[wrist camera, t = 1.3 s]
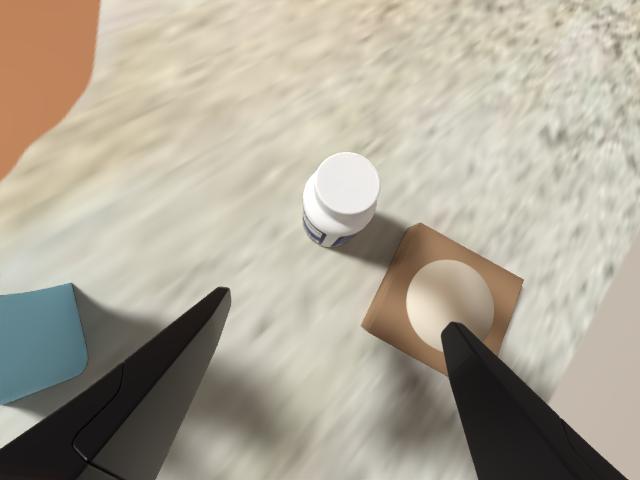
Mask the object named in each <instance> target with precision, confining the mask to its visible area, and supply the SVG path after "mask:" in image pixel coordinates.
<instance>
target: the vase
mask: <svg viewBox="0 0 640 480" xmlns="http://www.w3.org/2000/svg"><path fill="white" fill-rule="evenodd" d="M87 362H88V355H87V349H86V344H85V339H84V335H83V331H82V326H81V322H80V318H79V313H78V309H77V305H76V300H75V296H74V292H73V288H72V283H68V284H64V285H60V286H56V287H51V288H47V289H42V290H37V291H31V292H25V293H18V294H9V295H0V405H3V404H6V403H9V402H12V401H15V400H17V399H20V398H23V397H25V396H28V395H30V394H33V393H35V392H38V391H41V390H43V389H46V388H48V387H51V386H53V385H56V384H59V383H61V382H64V381H66V380H69V379H71V378H74V377H76V376H78V375H80V374H81V373H82V372H83V371H84V369H85V367H86V365H87Z"/></svg>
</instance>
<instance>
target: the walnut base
mask: <svg viewBox="0 0 640 480" xmlns="http://www.w3.org/2000/svg"><path fill="white" fill-rule="evenodd" d="M523 281H524V280H523V279H522V278H520V277H518V276H516V275H514V274H513V273H511V272H509V271H507V270H505V269H503V268H502V267H500V266H498V265H496V264H494V263H493V262H491V261H489V260H487V259H485V258H484V257H482V256H480V255H478V254H476V253H475V252H473V251H471V250H469V249H467V248H465V247H464V246H462V245H460V244H458V243H456V242H455V241H453V240H451V239H449V238H447V237H446V236H444V235H442V234H440V233H438V232H437V231H435V230H433V229H431V228H429V227H427V226H426V225H424V224H422V223H418V224H416V225H414V226H411V227H409V228H408V229H407V231H406V233H405V235H404V237H403V239H402V241H401V243H400V245H399V247H398V250H397V252H396V254H395V256H394V258H393V260H392V262H391V264H390V266H389V268H388V270H387V272H386V274H385V277H384V279H383V281H382V283H381V285H380V287H379V289H378V291H377V293H376V295H375V297H374V299H373V302H372V304H371V306H370V308H369V310H368V312H367V314H366V316H365V318H364V320H363V322H362V324H361V327H363V328H364V329H365V330H366V331H367V332H369V333H370V334H372V335H374V336H376V337H378V338H379V339H381V340H383V341H385V342H387V343H388V344H390V345H392V346H394V347H396V348H397V349H399V350H401V351H403V352H404V353H406V354H408V355H410V356H412V357H413V358H415V359H417V360H419V361H421V362H422V363H424V364H426V365H428V366H430V367H431V368H433V369H435V370H437V371H439V372H440V373H442V374H444V375H446V376H448V373H447V368H446V363H445V358H444V352H443V347H442V342H441V332H442V331H443V330H444V328H445V327H446V326H447V325H448V324H449V323H450V322H452V321H454V322H460V323H463V324H464V325H465V326H466V327H467V328H468V329H469V330H470V331H471V332H472V333H473V334H474V335H475V336H476V337H477V338H479V339H480V340H481V341H482V342H483V343H484V344H485V345H486V346H487V347H488V348H489V349H490V350H491V351H492V352H493V353H494V354H495V355H496V356H497V354H498V351H499V349H500V346H501V343H502V340H503V337H504V335H505V332H506V329H507V326H508V323H509V320H510V318H511V315H512V312H513V309H514V306H515V304H516V301H517V298H518V295H519V292H520V289H521V287H522V284H523Z"/></svg>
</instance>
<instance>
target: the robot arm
mask: <svg viewBox="0 0 640 480" xmlns="http://www.w3.org/2000/svg"><path fill="white" fill-rule="evenodd" d="M230 307H231V293H230V289H229V288H227V287H217V288H216V289H215V290H213V291H212V292H211V293H210V294H208V295H207V296H206V297H205V298H203V299H202V300H201V301H199V302H198V303H197V304H196V305H194V306H193V307H192V308H191V309H189V310H188V311H187V312H185V313H184V314H183V315H182V316H180V317H179V318H178V319H176V320H175V321H174V322H173V323H171V324H170V325H169V326H168V327H166V328H165V329H164V330H162V331H161V332H160V333H159V334H157V335H156V336H155V337H154V338H152V339H151V340H150V341H148V342H147V343H146V344H145V345H143V346H142V347H141V348H140V349H138V350H137V351H136V352H134V353H133V354H132V355H131V356H129V357H128V358H127V359H125V361H124V362H122V363H120V364H119V365H118V366H116V367H115V368H114V369H113V370H111V371H110V372H109V373H107V374H106V375H105V376H103V377H102V378H101V379H99V380H98V381H97V382H96V383H94V384H93V385H92V386H90V387H89V388H88V389H86V390H85V391H83V392H82V393H81V394H79V395H78V396H76V397H75V398H73V399H72V400H71V401H69V402H68V403H66V404H65V405H64V406H62V407H61V408H59V409H58V410H56V411H55V412H53V413H52V414H51V415H49V416H48V417H46V418H45V419H43V420H42V421H40V422H39V423H37V424H36V425H35V426H33V427H32V428H30V429H29V430H27V431H26V432H24V433H23V434H21V435H20V436H18V437H17V438H16V439H14V440H13V441H11V442H10V443H8V444H7V445H5V446H4V447H2V448H1V449H0V480H155V479H156V477H157V475H158V473H159V471H160V469H161V466H162V464H163V462H164V460H165V458H166V456H167V453H168V451H169V449H170V447H171V445H172V443H173V440H174V438H175V436H176V434H177V432H178V430H179V428H180V425H181V423H182V421H183V419H184V417H185V415H186V412H187V410H188V408H189V406H190V404H191V402H192V399H193V397H194V395H195V393H196V391H197V389H198V386H199V384H200V382H201V380H202V378H203V376H204V373H205V371H206V369H207V367H208V365H209V363H210V360H211V358H212V356H213V354H214V352H215V350H216V347H217V345H218V342H219V339H220V336H221V334H222V331H223V328H224V325H225V322H226V319H227V316H228V313H229V310H230ZM441 342H442V347H443V352H444V358H445V363H446V368H447V373H448V377H449V381H450V384H451V388H452V391H453V395H454V398H455V401H456V405H457V408H458V412H459V415H460V419H461V422H462V425H463V429H464V432H465V436H466V439H467V443H468V446H469V449H470V453H471V456H472V460H473V463H474V466H475V470H476V473H477V477H478V480H628V479H627V478H626V477H624V476H623V475H622V474H621V473H620V472H619V471H618V470H617V469H616V468H614V467H613V466H612V465H611V464H610V463H609V462H608V461H607V460H606V459H604V458H603V457H602V456H601V455H600V454H599V453H598V452H597V451H596V450H595V449H593V448H592V447H591V446H590V445H589V444H588V443H587V442H586V441H585V440H584V439H583V438H582V437H581V436H580V435H579V434H577V433H576V432H575V431H574V430H573V429H572V428H571V427H570V426H569V425H568V424H567V423H566V422H565V421H564V420H563V419H561V418H560V417H559V416H558V415H557V413H556V412H555V411H553V410H552V409H551V408H550V407H549V406H548V405H547V404H546V403H545V402H544V401H543V400H542V399H541V398H540V397H539V396H538V395H537V394H536V393H535V392H534V391H533V390H532V389H531V388H530V387H528V386H527V385H526V384H525V383H524V382H523V381H522V380H521V379H520V378H519V377H518V376H517V375H516V374H515V373H514V372H513V371H512V370H511V369H510V368H509V367H508V366H507V365H506V364H505V363H503V362H502V361H501V360H500V359H499V358H498V357H497V356H496V355H495V354H494V353H493V352H492V351H491V350H490V349H489V348H488V347H487V346H486V345H485V344H484V343H483V342H482V341H481V340H480V339H479V338H477V337H476V336H475V335H474V334H473V333H472V332H471V331H470V330H469V329H468V328H467V327H466V326H465V325H464V324H463V323H460V322H454V321H452V322H450V323H449V324H448V325H447V326H446V327H445V328H444V330H443V331H442V332H441Z"/></svg>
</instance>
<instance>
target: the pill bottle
mask: <svg viewBox="0 0 640 480" xmlns="http://www.w3.org/2000/svg"><path fill="white" fill-rule="evenodd" d="M379 192H380V177H379V174H378V172H377V170H376V168H375V167H374V165H373V164H372V163H371V162H370V161H369V160H368V159H366V158H365V157H363V156H361V155H359V154H356V153H352V152H341V153H337V154H334V155H332V156H330V157H328V158H327V159H326V160H324V161H323V162H322V164H321V165H320V166H319V168H318V170H317V171H316V172H315V173H314V174H313V175H312V176H311V177H310V179H309V180H308V182H307V184H306V186H305V189H304V194H303V226H304V229H305V232H306V234H307V235H308V237H309V238H310V239H311V240H312V241H313V242H315V243H316V244H318V245H320V246H324V247H336V246H340V245H342V244H344V243H346V242H347V241H349V240H350V239H351V238H352V237H353V236H355V235H356V234H357V233H358V232H360V231H361V230H362V229H363V228H364V227H365V226H366V225H367V224H368V223H369V222H370V221H371V219H372V217H373V215H374V213H375V210H376V206H377V198H378V196H379Z"/></svg>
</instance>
